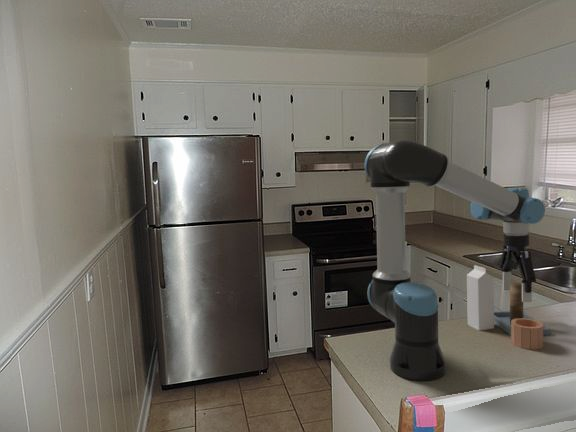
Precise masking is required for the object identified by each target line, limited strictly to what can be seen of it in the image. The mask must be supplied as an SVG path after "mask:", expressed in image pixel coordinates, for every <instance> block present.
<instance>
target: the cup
mask: <svg viewBox="0 0 576 432" xmlns="http://www.w3.org/2000/svg"><path fill="white" fill-rule="evenodd" d="M533 319H534V318H533ZM533 319H527V318H516V319H513V320H512V321H511V336H510V343H512V345H513V346H515V347H518V348H521V349H525V350H540V349H542V348H544V335H543V325H544V323H543V322H542V321H540V320H537V319H535V320H533Z"/></svg>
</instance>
